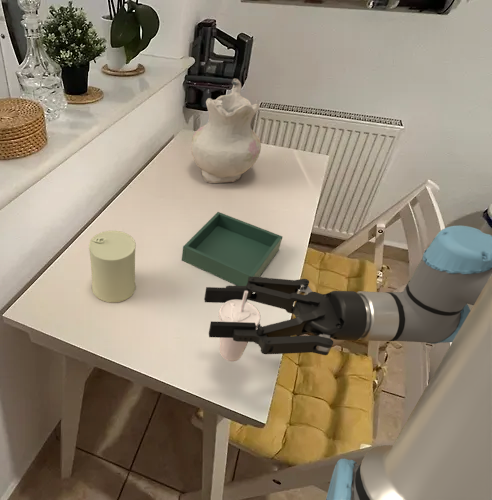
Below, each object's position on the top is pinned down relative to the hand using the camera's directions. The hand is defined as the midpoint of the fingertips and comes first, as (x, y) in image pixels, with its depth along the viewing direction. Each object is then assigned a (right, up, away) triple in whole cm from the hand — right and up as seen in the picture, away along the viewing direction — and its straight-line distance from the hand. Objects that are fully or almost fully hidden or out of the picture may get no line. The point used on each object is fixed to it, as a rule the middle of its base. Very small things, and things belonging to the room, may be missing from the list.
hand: (207, 311), depth 66 cm
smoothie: (+5, -8, +6) cm, 11 cm away
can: (-16, +2, +24) cm, 29 cm away
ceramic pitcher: (+13, +33, +62) cm, 71 cm away
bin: (+10, +8, +33) cm, 35 cm away
